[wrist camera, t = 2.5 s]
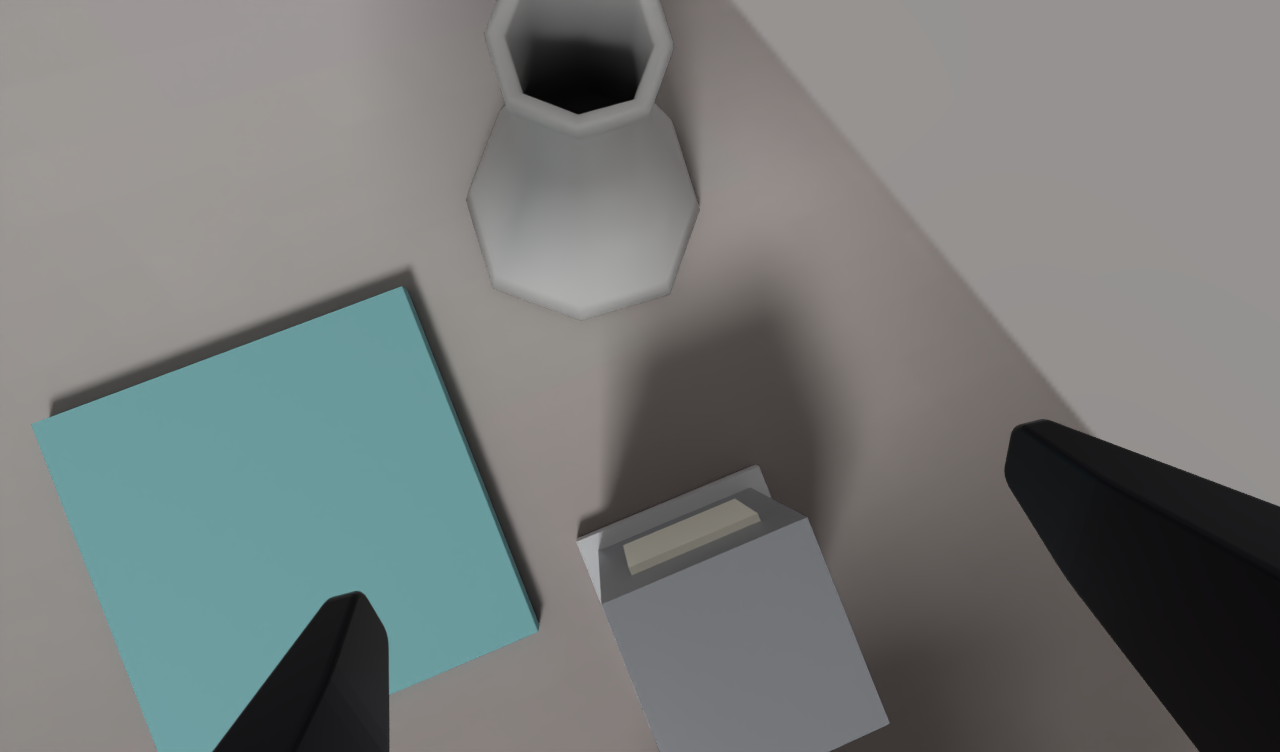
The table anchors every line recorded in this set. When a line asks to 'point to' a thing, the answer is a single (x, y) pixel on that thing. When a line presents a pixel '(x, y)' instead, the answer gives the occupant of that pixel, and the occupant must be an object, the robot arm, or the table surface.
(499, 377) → the table surface
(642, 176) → the flask
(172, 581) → the mat
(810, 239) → the table surface
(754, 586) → the box
